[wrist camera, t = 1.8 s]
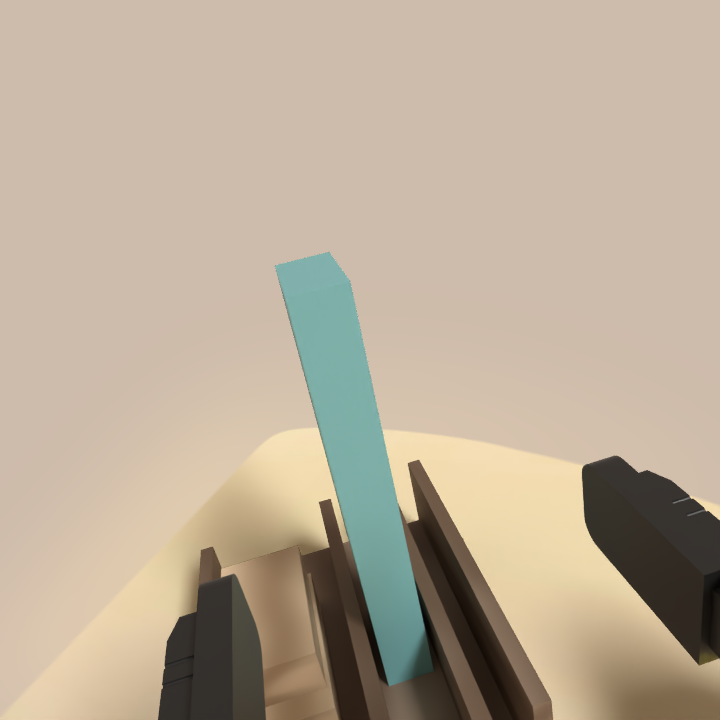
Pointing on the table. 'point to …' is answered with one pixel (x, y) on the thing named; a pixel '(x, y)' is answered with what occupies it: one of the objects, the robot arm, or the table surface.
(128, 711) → the table surface
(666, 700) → the table surface
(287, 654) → the upper oak offcut
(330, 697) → the lower oak offcut
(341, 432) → the teal board
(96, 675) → the table surface
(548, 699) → the wooden rack
